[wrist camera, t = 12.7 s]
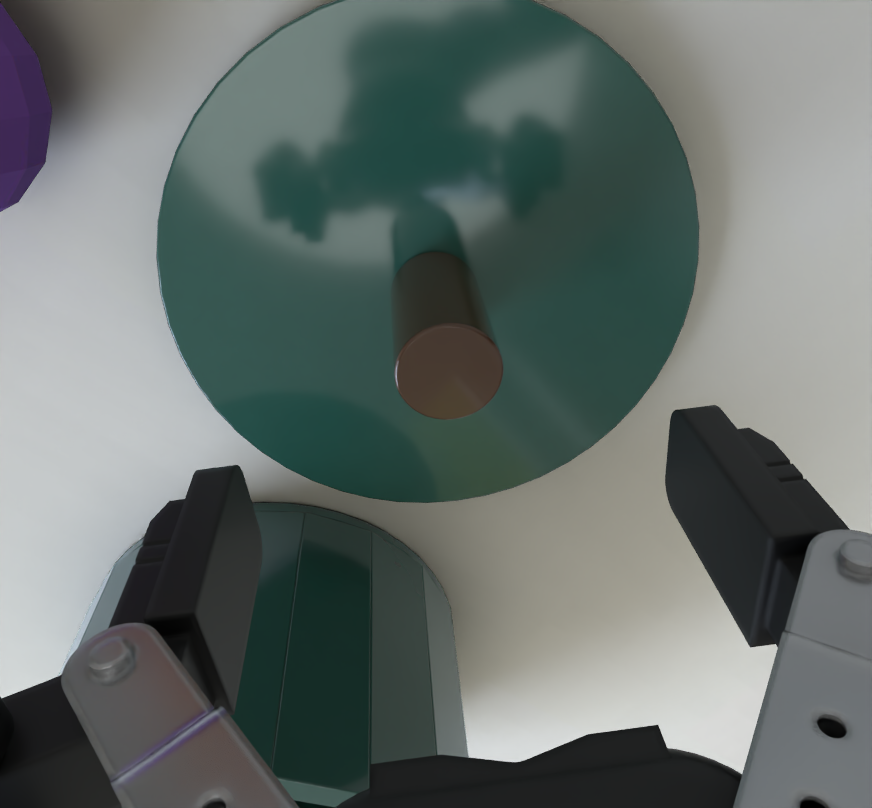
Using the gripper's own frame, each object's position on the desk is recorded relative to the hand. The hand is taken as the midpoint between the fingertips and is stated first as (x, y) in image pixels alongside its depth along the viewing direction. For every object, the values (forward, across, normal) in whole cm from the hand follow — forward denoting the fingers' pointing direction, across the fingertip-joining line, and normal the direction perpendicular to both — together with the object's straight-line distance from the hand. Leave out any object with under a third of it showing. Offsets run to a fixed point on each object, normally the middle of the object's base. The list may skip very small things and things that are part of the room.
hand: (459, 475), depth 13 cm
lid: (+10, 0, 0) cm, 10 cm away
